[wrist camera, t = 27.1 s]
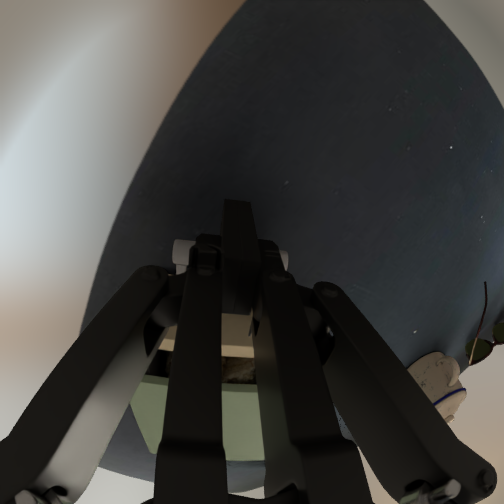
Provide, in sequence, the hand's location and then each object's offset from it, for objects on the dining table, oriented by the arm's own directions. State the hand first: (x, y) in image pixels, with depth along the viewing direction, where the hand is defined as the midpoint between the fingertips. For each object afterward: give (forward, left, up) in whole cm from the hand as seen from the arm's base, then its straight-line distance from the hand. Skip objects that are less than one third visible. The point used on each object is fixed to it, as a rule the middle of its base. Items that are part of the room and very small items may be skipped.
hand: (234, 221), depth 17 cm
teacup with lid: (+30, +26, -5) cm, 40 cm away
